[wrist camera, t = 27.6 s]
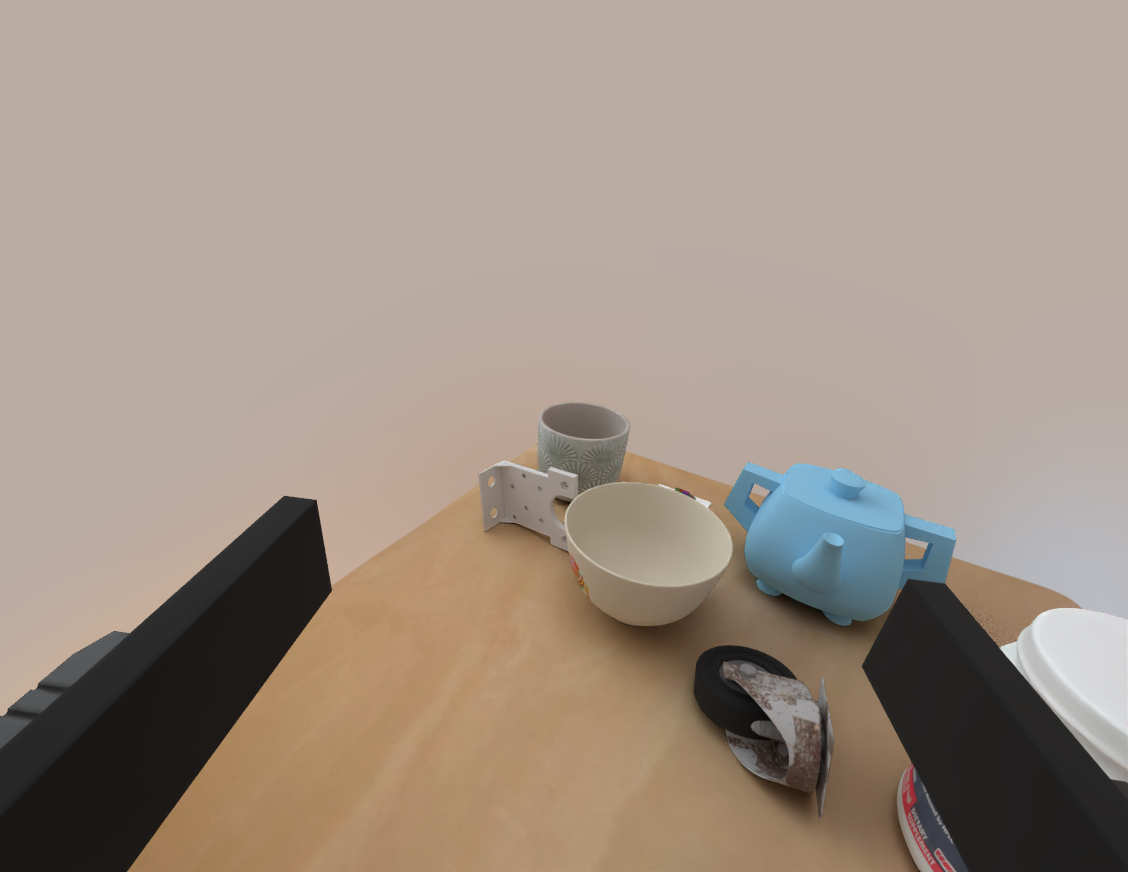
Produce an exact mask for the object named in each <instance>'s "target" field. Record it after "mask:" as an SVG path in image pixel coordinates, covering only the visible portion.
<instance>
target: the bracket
mask: <svg viewBox="0 0 1128 872" xmlns="http://www.w3.org/2000/svg"><path fill="white" fill-rule="evenodd" d="M547 471H548V474H546V473H543V472H540V471H537V470H534V469H530V468H527V467H524V466H521V465H517V464H514V463H511V462H508V461H505V460H503V461H501V462H499V463H498V464H496V465H494V466H492V467H490V468H488V469H486V470H484V471H482V472H480V473H479V484H480V494H481V504H482V514H483V524H484V532H486V531H487V530H489V529H490V528H492V527H493V526H495V525H496V524H498V523H499V522H506V523H517V524H519V525H522V526H524V527H527V528H529V529H532V530H534V531H537V532H539V533H542V534H544V535H547V536H549V537H550V544H551V545H554V546H556V547H559V548H561V549H564V550H566V551H568V552H569V550H568V544H567V539H566V531H565V525H564V524H562V523H561V522H560V521H559V519H558V518H557V516H556V514H555V512H554V507H553V502H554V499H555V497H556V496H565V497H568V498H571V499H575V498H576V497H577V496H578V475H576V474H573V473H569V472H566V471H563V470H559V469H556V468H553V467H551V468H549V469H547ZM491 476H493V477H494V483H493V485H492V486H488V479H489V478H490V477H491ZM564 482H566V483H567V484H568V487H569V488H568V487H566V486H565V484H564ZM493 508H496V509H497V513H496V515H495V516H494V517H491V515H490V514H491V511H492V509H493Z"/></svg>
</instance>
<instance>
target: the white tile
mask: <svg viewBox="0 0 1128 872" xmlns="http://www.w3.org/2000/svg"><path fill="white" fill-rule="evenodd" d="M658 486H661V487H665V488H668V489H671V490H674V491H677V492H680V493H682V494H684V495H687V496H689V497H691V498H693V499H694V500H696V501H698V502H700V503H701V504H703V505H704V506H705V507H707V508H708V507H709V506H710V504H711V502H708V501H706V500H703V499H700V498H697V497H694V496H692V495H690V494H689V493H690V492H687V491H685V490H682V489H679V488H676V489H672V488H669V487H667V486H664V485H661V484H659V485H658Z"/></svg>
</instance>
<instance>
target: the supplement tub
mask: <svg viewBox="0 0 1128 872" xmlns="http://www.w3.org/2000/svg"><path fill="white" fill-rule="evenodd" d="M1000 649H1001V650H1002V651H1003V653H1004V654H1005V655H1006V656H1007V657H1008V659H1009V660H1010V661H1011V662H1012V663H1013V664H1014V666H1015V667H1016V668H1017V669H1018V670H1019V672H1020V673H1021V674H1022V675H1023V676H1024V677H1025V679H1026V680H1027V681H1028V682H1029V683H1030V685H1031V686H1032V687H1033V688H1034V689H1035V690H1036V692H1037V693H1038V694H1039V695H1040V696H1041V698H1042V699H1043V700H1044V701H1045V702H1046V703H1047V705H1048V706H1049V707H1050V708H1051V709H1052V711H1053V712H1054V713H1055V714H1056V715H1057V716H1058V718H1059V719H1060V720H1061V721H1062V722H1063V724H1064V725H1065V726H1066V727H1067V728H1068V729H1069V731H1070V732H1071V733H1072V734H1073V735H1074V737H1075V738H1076V739H1077V740H1078V741H1079V742H1080V744H1081V745H1082V746H1083V747H1084V748H1085V750H1086V751H1087V752H1088V753H1089V754H1090V755H1091V757H1092V758H1093V759H1094V760H1095V761H1096V762H1097V764H1098V765H1099V766H1100V767H1101V768H1102V770H1103V771H1104V772H1105V773H1106V774H1107V775H1108V777H1109V778H1110V779H1113V780H1119V781H1126V782H1127V783H1128V620H1126V619H1123V618H1120V617H1116V616H1113V615H1109V614H1105V613H1100V612H1096V611H1091V610H1084V609H1077V608H1057V609H1052V610H1048V611H1046V612H1043V613H1041V614H1040V615H1038V616H1037V617H1036V619H1035V620H1034V621H1033V622H1032V623H1031V625H1030V626H1028V627H1027V628H1025V629H1024V630H1023V631H1022V632H1021V634H1020V635H1019V637H1018V640H1017V642H1014V643H1010V644H1007V645H1004V646H1002V647H1000ZM897 810H898V817H899V822H900V826H901V830H902V833H903V836H904V839H905V841H906V844H907V846H908V849H909V851H910V853H911V855H912V857H913V860H914V862H915V863H916V865H917V867H918V869H919V870H920V872H969V871H968V870H967V868H966V866H965V864H964V862H963V860H962V858H961V856H960V854H959V852H958V850H957V848H956V846H955V845H954V843H953V841H952V839H951V837H950V835H949V833H948V831H947V829H946V827H945V825H944V823H943V821H942V820H941V818H940V816H939V814H938V812H937V810H936V808H935V806H934V804H933V802H932V800H931V798H930V796H929V794H928V793H927V791H926V789H925V787H924V785H923V783H922V781H921V779H920V777H919V775H918V773H917V771H916V769H915V768H914V766H913V764H912V762H911V764H910V765H909V767H908V768H907V769H906V770H905V771H904V773H903V774H902V777H901V779H900V782H899V787H898V793H897Z"/></svg>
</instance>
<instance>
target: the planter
mask: <svg viewBox="0 0 1128 872" xmlns="http://www.w3.org/2000/svg"><path fill="white" fill-rule="evenodd" d="M629 430H630V423H629V421H628V419H627V418H626V417H625V416H624V415H622V414H621V413H619V412H618V411H616V410H614V409H611V408H608V407H606V406H603V405H599V404H594V403H586V402H563V403H558V404H554V405H551V406H548V407H546V408H545V409H543V410H542V411H541V413H540V414H539V423H538V471H540V472H543V473H546V474H548V471H547V469H549V468H551V467H553V468H556V469H559V470H563V471H566V472H569V473H573V474H576V475H578V495H580V494H581V493H583V492H585V491H586V490H588V489H591V488H593V487H596V486H600V485H604V484H609V483H617V482H618V479H619V476H620V472H621V469H622V464H623V460H624V455H625V450H626V445H627V440H628V435H629ZM564 484H565V486H566V487H568V484H567V483H566V482H564ZM568 488H569V487H568ZM556 498H558V499H561V500H563V501H567V502H572V501H573V500H574V499H571V498H568V497H565V496H556Z"/></svg>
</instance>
